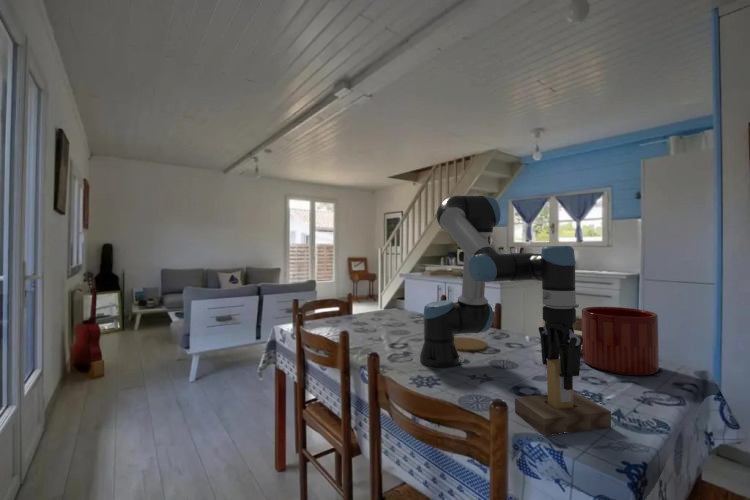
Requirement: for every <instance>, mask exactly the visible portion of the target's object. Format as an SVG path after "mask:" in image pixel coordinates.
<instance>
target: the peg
mask: <svg viewBox="0 0 750 500" xmlns="http://www.w3.org/2000/svg"><path fill="white" fill-rule="evenodd" d="M559 374H562V371H561V363H560V358H559V359H554V360H547V366H546V379H547V380H546V382H547V383H546V384H547V385H546V386H547V394H548V405H549V406H551V407H552V408H554V409H564V408H573V392H574V376H573V377H572V390H571V402H560V380H559Z"/></svg>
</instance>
